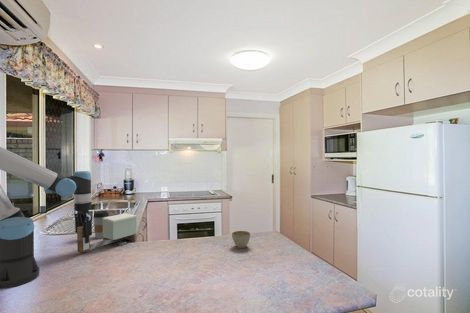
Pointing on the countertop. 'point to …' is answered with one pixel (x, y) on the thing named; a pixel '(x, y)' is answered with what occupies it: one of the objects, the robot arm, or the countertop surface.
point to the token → (122, 242)
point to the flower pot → (241, 238)
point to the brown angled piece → (91, 246)
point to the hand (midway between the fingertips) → (83, 248)
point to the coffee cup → (99, 223)
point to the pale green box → (119, 227)
